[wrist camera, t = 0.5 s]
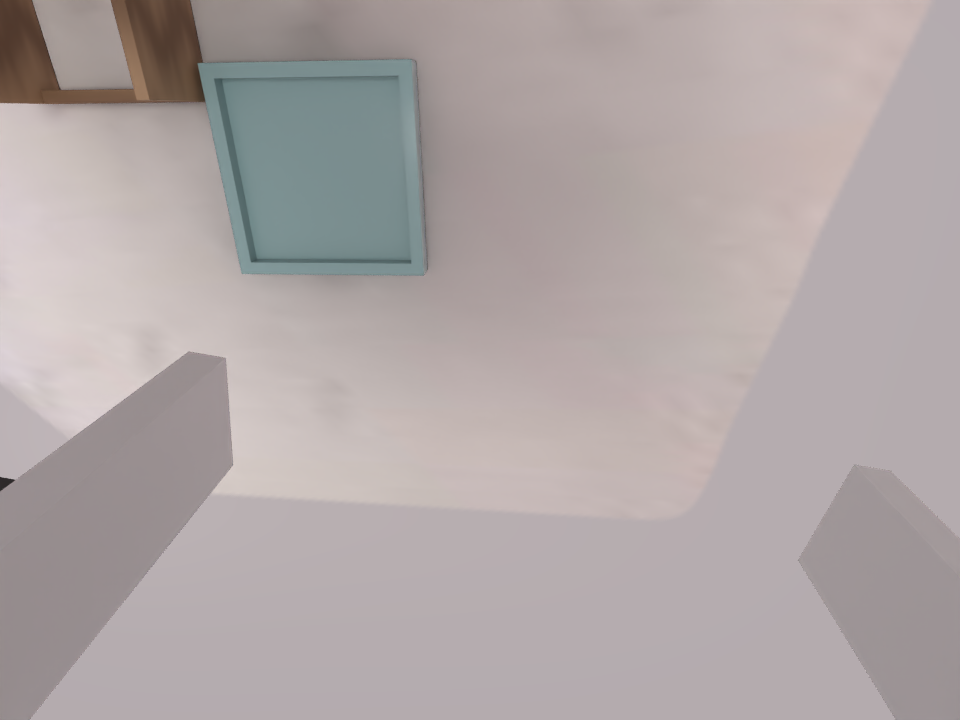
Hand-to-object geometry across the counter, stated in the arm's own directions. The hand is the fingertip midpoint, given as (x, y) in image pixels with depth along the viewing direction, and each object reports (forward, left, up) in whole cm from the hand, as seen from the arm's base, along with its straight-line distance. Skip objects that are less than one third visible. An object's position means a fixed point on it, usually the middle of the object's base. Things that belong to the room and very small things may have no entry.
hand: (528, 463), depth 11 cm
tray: (-3, -13, -26) cm, 29 cm away
